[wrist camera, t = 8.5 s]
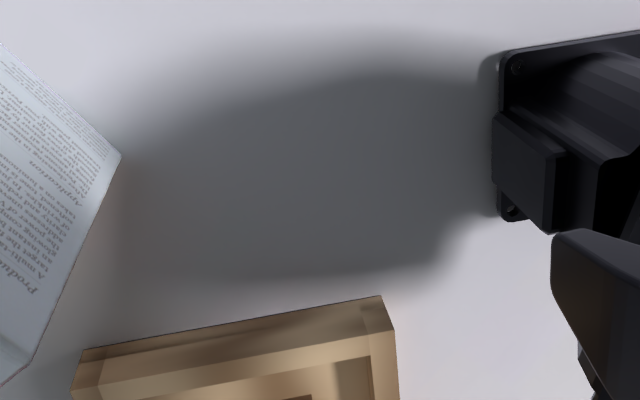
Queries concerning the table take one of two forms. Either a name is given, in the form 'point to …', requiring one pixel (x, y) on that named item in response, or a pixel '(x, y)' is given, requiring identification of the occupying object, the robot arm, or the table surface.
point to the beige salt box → (301, 397)
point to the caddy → (254, 359)
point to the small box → (41, 204)
